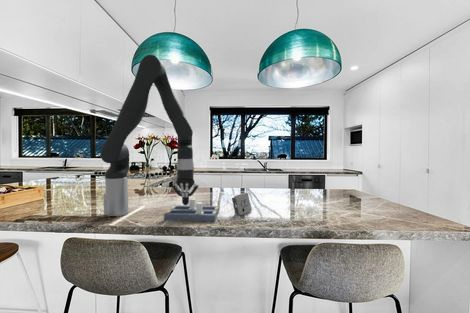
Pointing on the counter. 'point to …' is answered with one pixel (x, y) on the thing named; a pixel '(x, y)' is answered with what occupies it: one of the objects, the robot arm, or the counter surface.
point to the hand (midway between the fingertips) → (185, 204)
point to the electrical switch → (241, 204)
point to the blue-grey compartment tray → (192, 213)
